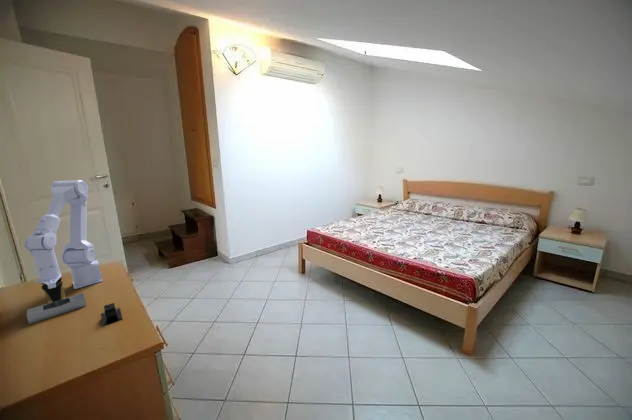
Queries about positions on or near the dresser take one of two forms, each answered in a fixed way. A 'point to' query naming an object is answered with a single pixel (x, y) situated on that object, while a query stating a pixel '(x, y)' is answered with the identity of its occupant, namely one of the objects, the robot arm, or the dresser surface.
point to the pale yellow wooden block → (61, 295)
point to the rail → (55, 308)
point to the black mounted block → (110, 315)
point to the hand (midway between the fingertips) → (56, 298)
